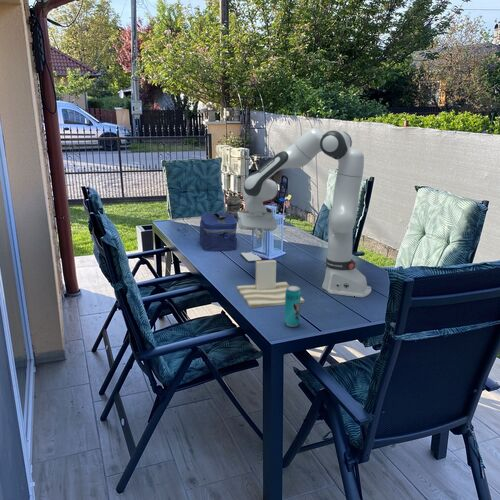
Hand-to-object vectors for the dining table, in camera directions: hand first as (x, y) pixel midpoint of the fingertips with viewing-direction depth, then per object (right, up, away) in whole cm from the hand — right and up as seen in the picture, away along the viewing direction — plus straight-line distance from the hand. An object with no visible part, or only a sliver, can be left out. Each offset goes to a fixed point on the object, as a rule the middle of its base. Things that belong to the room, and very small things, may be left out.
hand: (260, 238), depth 229 cm
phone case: (-4, -11, +43) cm, 44 cm away
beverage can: (+11, -34, -41) cm, 55 cm away
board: (+4, -26, -12) cm, 29 cm away
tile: (+2, -23, -6) cm, 24 cm away
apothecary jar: (-17, +16, +135) cm, 137 cm away
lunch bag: (-24, -3, +68) cm, 72 cm away
